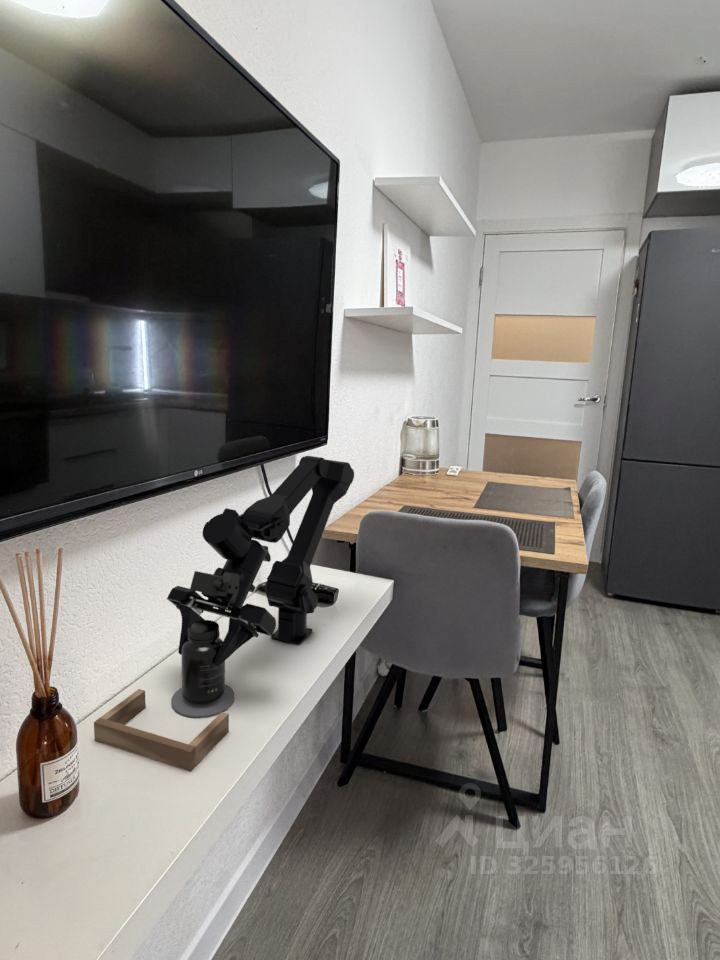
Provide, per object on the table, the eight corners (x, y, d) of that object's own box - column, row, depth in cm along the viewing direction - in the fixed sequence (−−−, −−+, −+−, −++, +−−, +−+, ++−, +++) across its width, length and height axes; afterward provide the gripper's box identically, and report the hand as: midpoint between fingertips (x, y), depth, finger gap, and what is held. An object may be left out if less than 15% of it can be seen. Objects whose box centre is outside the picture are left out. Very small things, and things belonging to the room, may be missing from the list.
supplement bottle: (174, 691, 98) (174, 622, 95) (213, 678, 102) (213, 613, 100) (192, 710, 93) (192, 639, 90) (232, 697, 97) (233, 628, 95)
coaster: (195, 678, 104) (195, 675, 104) (246, 691, 100) (246, 688, 100) (158, 709, 94) (158, 706, 94) (212, 724, 91) (212, 721, 91)
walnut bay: (139, 705, 95) (138, 688, 94) (228, 731, 90) (228, 713, 89) (94, 740, 86) (93, 722, 86) (190, 771, 81) (190, 751, 80)
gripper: (172, 540, 100) (124, 627, 92) (267, 560, 92) (222, 657, 85) (204, 569, 108) (162, 651, 101) (292, 590, 101) (254, 681, 93)
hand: (198, 659), depth 95 cm, fingers closed on supplement bottle, 7 cm apart
